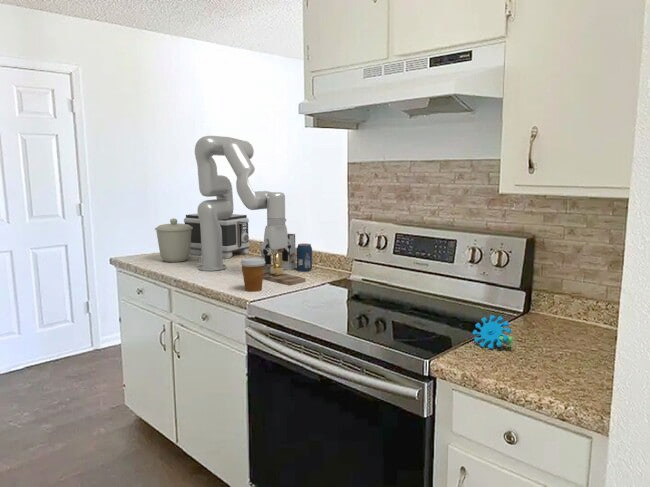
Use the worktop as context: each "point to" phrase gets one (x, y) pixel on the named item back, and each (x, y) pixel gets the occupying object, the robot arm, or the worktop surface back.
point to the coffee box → (291, 255)
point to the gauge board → (280, 276)
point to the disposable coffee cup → (253, 273)
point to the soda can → (304, 257)
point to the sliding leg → (276, 266)
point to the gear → (493, 333)
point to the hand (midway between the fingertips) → (276, 262)
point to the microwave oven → (223, 235)
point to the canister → (174, 241)
